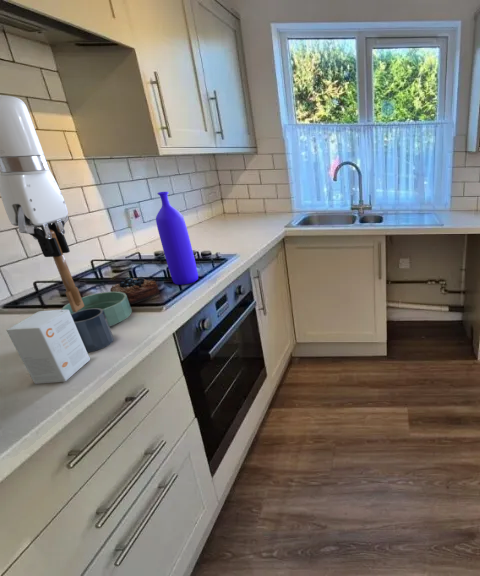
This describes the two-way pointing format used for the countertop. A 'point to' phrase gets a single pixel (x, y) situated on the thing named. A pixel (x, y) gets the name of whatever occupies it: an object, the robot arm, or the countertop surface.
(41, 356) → the small box
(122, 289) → the pastry
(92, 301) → the bowl
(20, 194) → the robot arm
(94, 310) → the crock
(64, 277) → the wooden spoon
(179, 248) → the bottle
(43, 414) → the countertop surface
